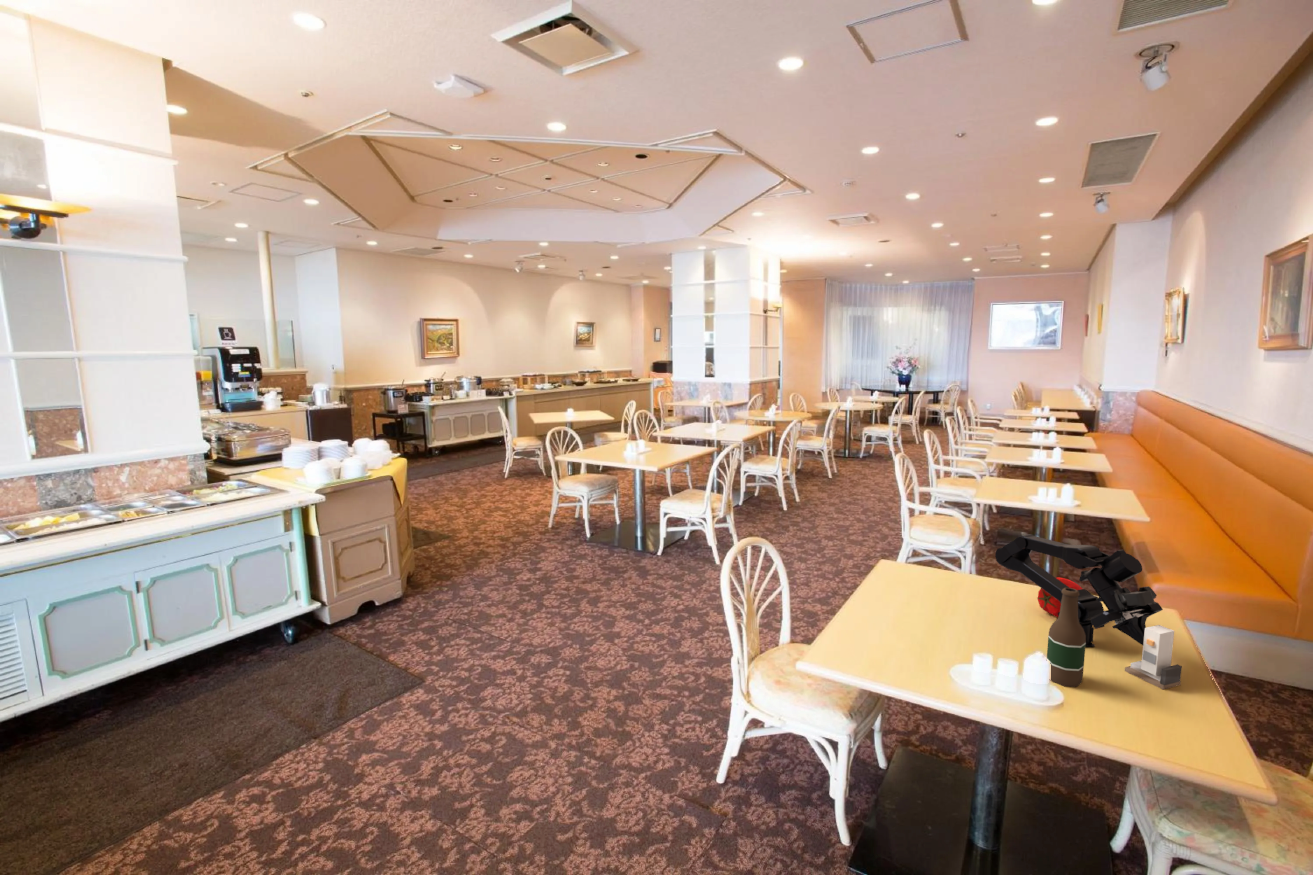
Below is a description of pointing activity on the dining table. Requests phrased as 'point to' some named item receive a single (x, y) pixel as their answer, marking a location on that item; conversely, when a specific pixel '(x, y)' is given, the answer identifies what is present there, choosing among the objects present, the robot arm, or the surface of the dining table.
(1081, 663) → the beer bottle
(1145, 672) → the rail board
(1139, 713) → the dining table surface
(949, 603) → the dining table surface
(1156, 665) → the switch module
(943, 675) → the dining table surface
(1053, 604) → the tomato
